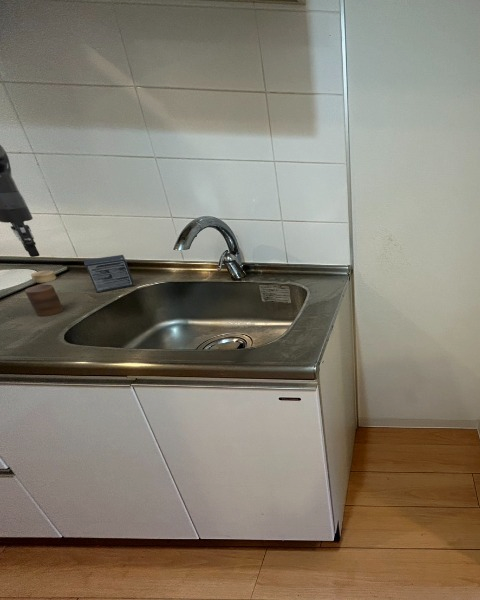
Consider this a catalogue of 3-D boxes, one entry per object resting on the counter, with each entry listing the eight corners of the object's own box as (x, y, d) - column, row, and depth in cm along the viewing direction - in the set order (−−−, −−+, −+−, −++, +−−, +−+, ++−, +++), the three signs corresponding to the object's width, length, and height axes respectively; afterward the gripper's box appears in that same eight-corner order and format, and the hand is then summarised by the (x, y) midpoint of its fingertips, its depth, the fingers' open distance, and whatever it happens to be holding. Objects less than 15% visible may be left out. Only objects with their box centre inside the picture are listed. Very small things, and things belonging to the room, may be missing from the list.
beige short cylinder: (29, 282, 109) (25, 276, 107) (43, 276, 113) (40, 270, 112) (47, 282, 109) (44, 276, 108) (60, 276, 114) (57, 270, 113)
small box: (132, 280, 116) (123, 253, 111) (135, 286, 112) (126, 258, 107) (94, 287, 109) (83, 259, 104) (96, 293, 105) (84, 264, 100)
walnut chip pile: (30, 316, 90) (17, 292, 86) (47, 307, 95) (36, 284, 91) (53, 316, 91) (42, 292, 87) (69, 307, 96) (59, 284, 92)
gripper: (-11, 203, 101) (13, 251, 108) (-7, 210, 93) (20, 260, 101) (23, 201, 106) (44, 247, 113) (30, 208, 99) (52, 256, 106)
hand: (33, 253), depth 107 cm, fingers open, 8 cm apart
